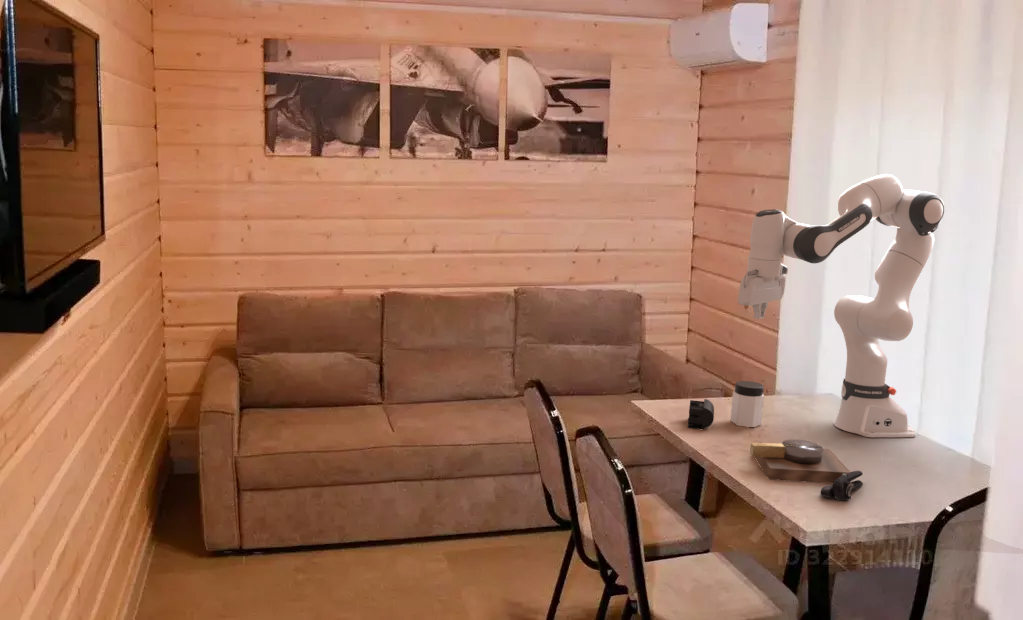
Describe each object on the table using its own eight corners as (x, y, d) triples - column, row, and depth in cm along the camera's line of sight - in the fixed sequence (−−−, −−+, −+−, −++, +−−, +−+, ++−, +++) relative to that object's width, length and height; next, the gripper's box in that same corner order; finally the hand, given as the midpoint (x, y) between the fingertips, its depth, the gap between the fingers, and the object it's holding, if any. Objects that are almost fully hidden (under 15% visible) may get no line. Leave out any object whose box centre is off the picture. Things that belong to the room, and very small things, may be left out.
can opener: (844, 507, 220) (847, 484, 219) (816, 498, 224) (818, 476, 223) (874, 488, 233) (876, 466, 232) (846, 480, 237) (849, 459, 236)
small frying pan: (813, 451, 248) (814, 440, 247) (827, 464, 238) (828, 453, 237) (745, 448, 247) (746, 437, 246) (756, 461, 237) (757, 450, 237)
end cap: (712, 431, 272) (714, 408, 270) (687, 428, 273) (689, 406, 272) (712, 421, 281) (714, 399, 280) (688, 419, 283) (690, 397, 281)
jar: (765, 427, 277) (769, 388, 275) (739, 428, 275) (743, 388, 273) (751, 418, 286) (755, 380, 284) (726, 419, 284) (730, 380, 282)
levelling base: (828, 459, 252) (829, 448, 251) (850, 484, 234) (851, 472, 233) (753, 455, 252) (754, 444, 252) (768, 479, 235) (770, 467, 234)
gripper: (756, 273, 250) (751, 324, 253) (791, 267, 265) (786, 316, 268) (734, 270, 254) (730, 320, 257) (770, 264, 269) (765, 312, 272)
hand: (758, 318), depth 263 cm, fingers closed
